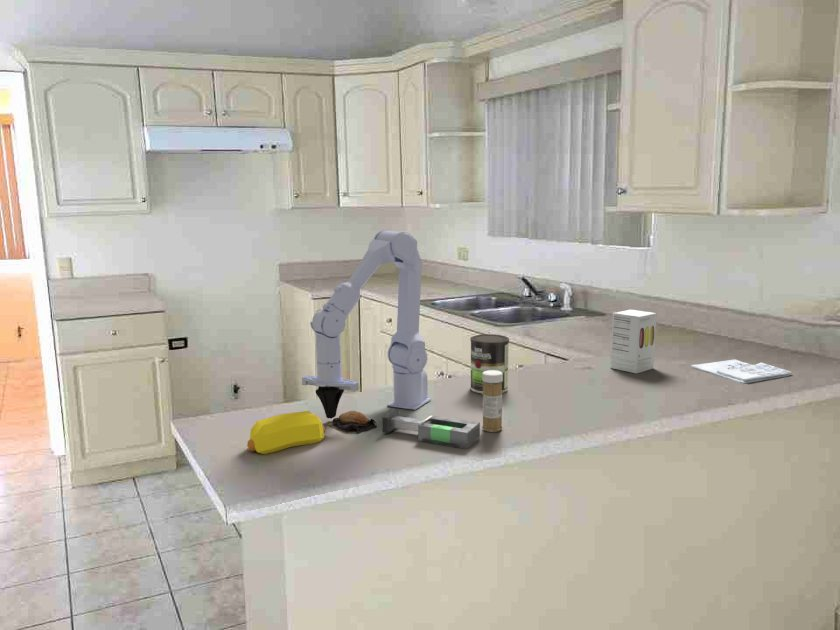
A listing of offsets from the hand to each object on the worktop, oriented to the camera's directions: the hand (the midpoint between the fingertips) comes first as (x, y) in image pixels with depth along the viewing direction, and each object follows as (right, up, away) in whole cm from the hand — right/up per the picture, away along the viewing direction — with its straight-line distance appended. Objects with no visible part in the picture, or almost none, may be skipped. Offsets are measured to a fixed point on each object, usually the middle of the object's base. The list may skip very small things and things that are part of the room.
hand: (331, 417), depth 173 cm
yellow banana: (-8, -4, -15) cm, 17 cm away
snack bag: (+114, +7, +39) cm, 121 cm away
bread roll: (+5, -2, -3) cm, 7 cm away
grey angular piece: (+19, -2, -9) cm, 21 cm away
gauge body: (+27, -3, -13) cm, 31 cm away
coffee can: (+40, +4, +25) cm, 47 cm away
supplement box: (+84, +8, +44) cm, 95 cm away
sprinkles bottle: (+37, -2, -7) cm, 38 cm away
